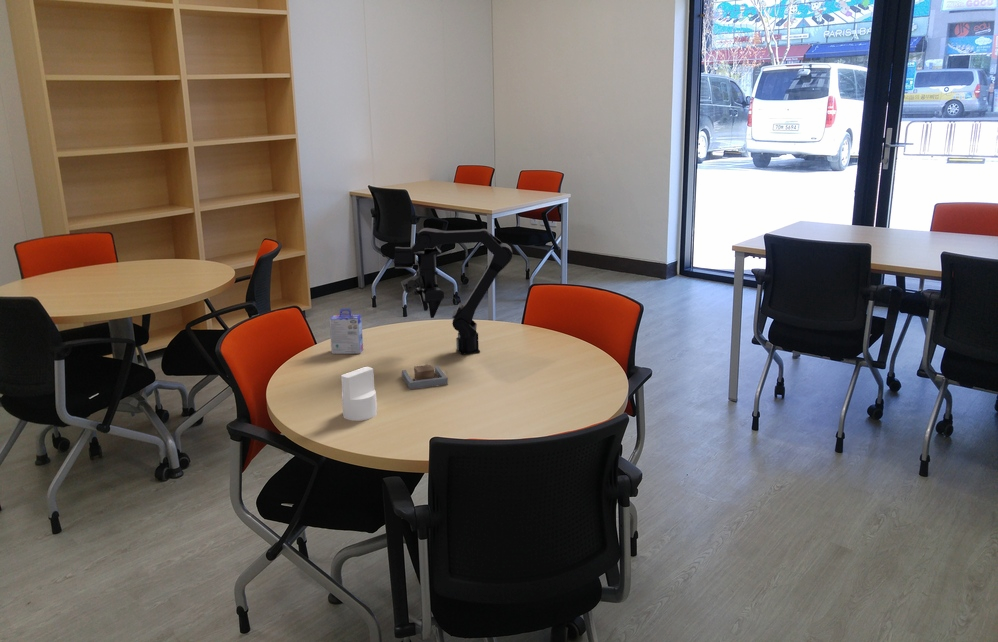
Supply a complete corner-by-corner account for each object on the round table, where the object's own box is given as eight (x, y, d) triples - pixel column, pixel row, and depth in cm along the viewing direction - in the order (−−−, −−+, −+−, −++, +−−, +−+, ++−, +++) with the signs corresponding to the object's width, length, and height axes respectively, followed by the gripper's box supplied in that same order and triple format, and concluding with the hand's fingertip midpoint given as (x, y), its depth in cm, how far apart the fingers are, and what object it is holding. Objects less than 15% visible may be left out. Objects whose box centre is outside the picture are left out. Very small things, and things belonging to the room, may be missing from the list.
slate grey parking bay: (438, 371, 234) (438, 365, 233) (447, 384, 223) (447, 378, 223) (402, 376, 230) (401, 370, 230) (409, 389, 220) (409, 382, 219)
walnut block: (430, 376, 230) (430, 364, 229) (434, 382, 225) (434, 369, 224) (414, 378, 228) (414, 366, 227) (418, 384, 224) (417, 371, 223)
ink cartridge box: (364, 348, 256) (361, 307, 252) (361, 354, 251) (358, 312, 247) (335, 349, 256) (331, 307, 252) (331, 354, 251) (328, 312, 247)
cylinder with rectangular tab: (362, 404, 209) (359, 363, 206) (384, 412, 204) (381, 370, 201) (336, 415, 203) (332, 373, 199) (358, 423, 197) (355, 380, 194)
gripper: (396, 264, 250) (399, 309, 255) (408, 275, 233) (410, 324, 238) (429, 261, 254) (431, 306, 258) (443, 273, 237) (445, 320, 241)
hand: (428, 314), depth 249 cm, fingers open, 9 cm apart
